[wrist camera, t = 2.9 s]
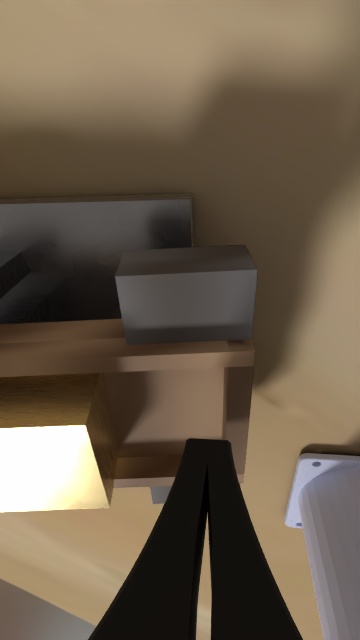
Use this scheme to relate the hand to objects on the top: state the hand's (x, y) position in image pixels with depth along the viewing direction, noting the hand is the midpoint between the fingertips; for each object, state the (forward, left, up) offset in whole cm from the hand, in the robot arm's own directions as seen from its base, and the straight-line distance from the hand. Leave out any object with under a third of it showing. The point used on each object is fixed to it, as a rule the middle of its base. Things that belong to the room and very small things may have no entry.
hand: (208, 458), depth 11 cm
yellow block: (+6, 0, -2) cm, 6 cm away
